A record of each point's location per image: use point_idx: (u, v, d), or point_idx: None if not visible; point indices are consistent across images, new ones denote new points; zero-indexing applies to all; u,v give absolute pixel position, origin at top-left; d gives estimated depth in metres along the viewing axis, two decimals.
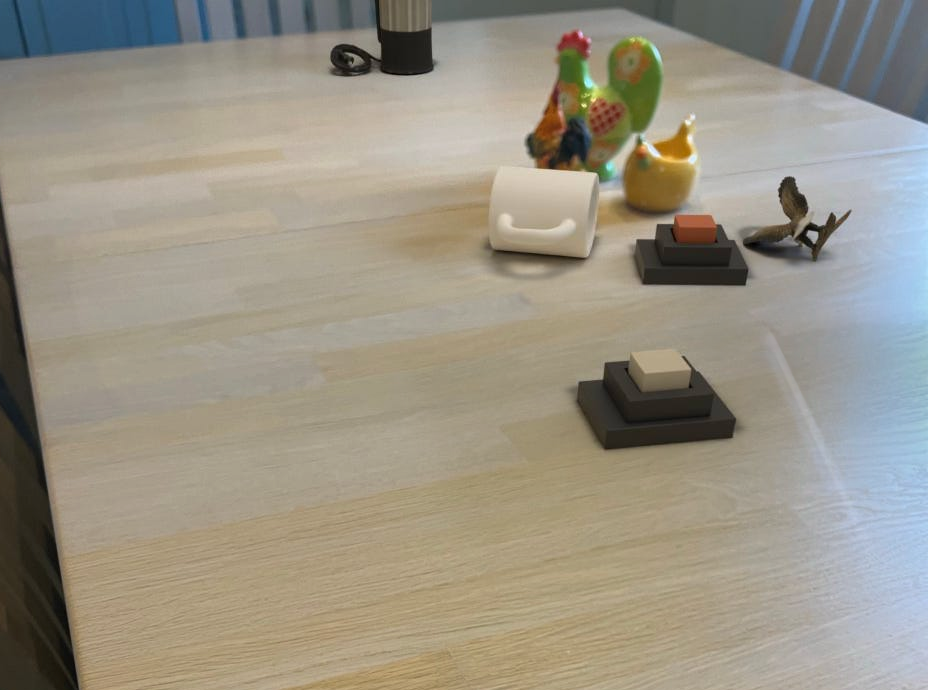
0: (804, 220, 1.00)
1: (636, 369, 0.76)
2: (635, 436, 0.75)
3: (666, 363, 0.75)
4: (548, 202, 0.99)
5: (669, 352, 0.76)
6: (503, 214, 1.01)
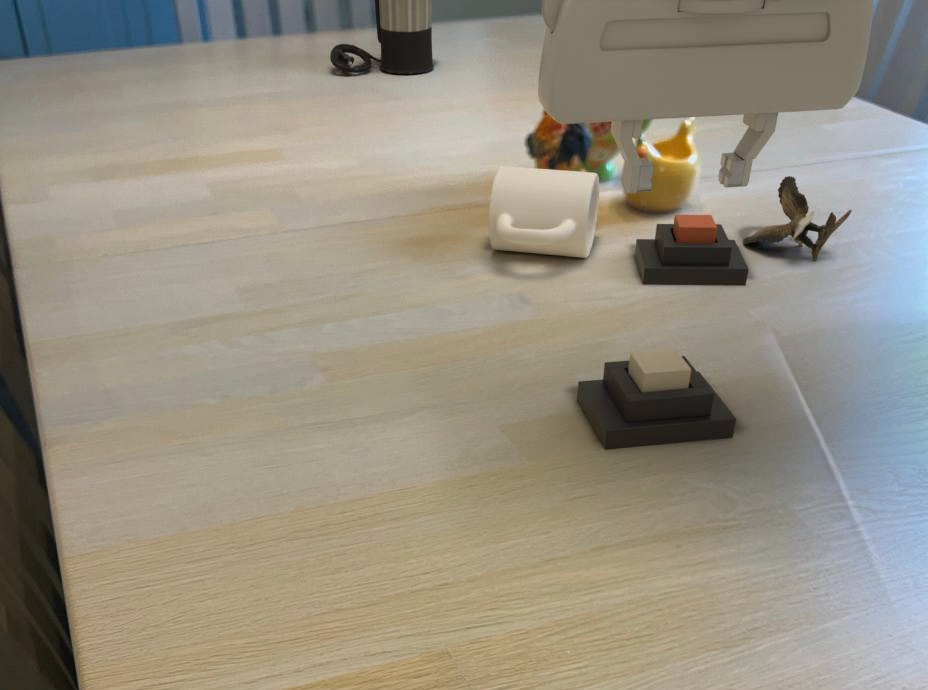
0: (804, 220, 1.00)
1: (636, 369, 0.76)
2: (635, 436, 0.75)
3: (666, 363, 0.75)
4: (548, 202, 0.99)
5: (669, 352, 0.76)
6: (503, 214, 1.01)
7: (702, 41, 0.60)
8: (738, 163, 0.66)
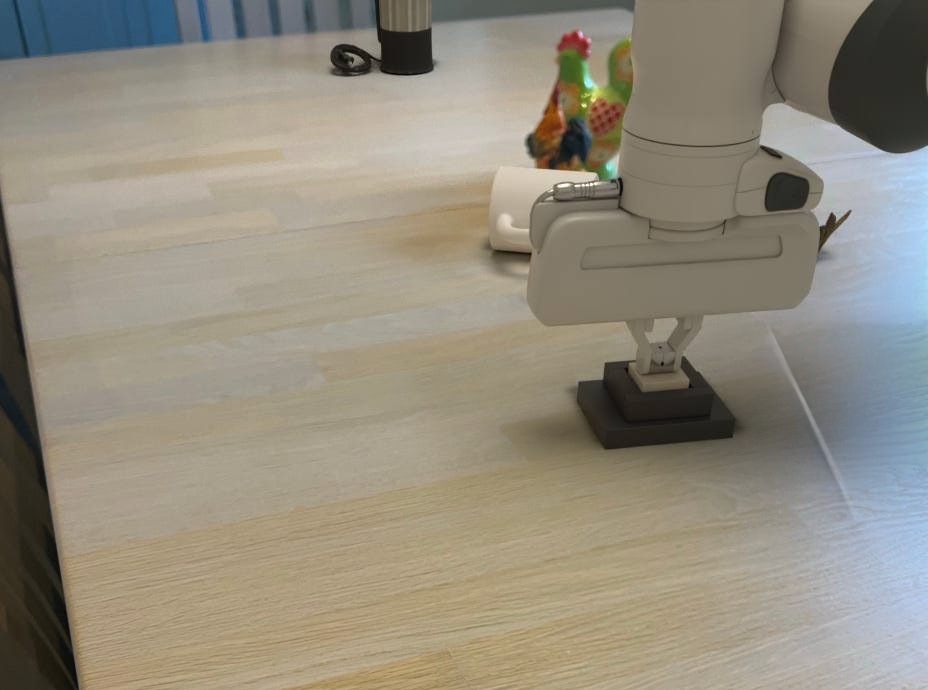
0: None
1: (635, 379, 0.76)
2: (635, 436, 0.75)
3: (664, 374, 0.76)
4: None
5: None
6: (503, 214, 1.01)
7: (669, 259, 0.69)
8: (670, 354, 0.74)
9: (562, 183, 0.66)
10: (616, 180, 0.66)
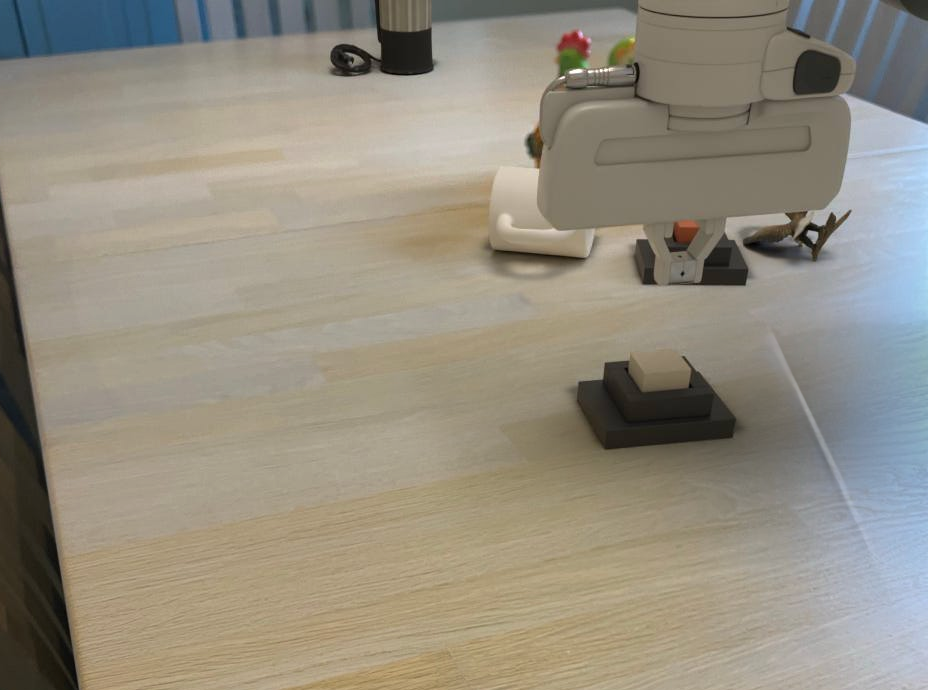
0: (804, 220, 1.00)
1: (636, 369, 0.76)
2: (635, 436, 0.75)
3: (666, 363, 0.75)
4: None
5: (669, 352, 0.76)
6: (503, 214, 1.01)
7: (690, 154, 0.64)
8: (690, 263, 0.70)
9: (574, 68, 0.61)
10: (632, 65, 0.62)
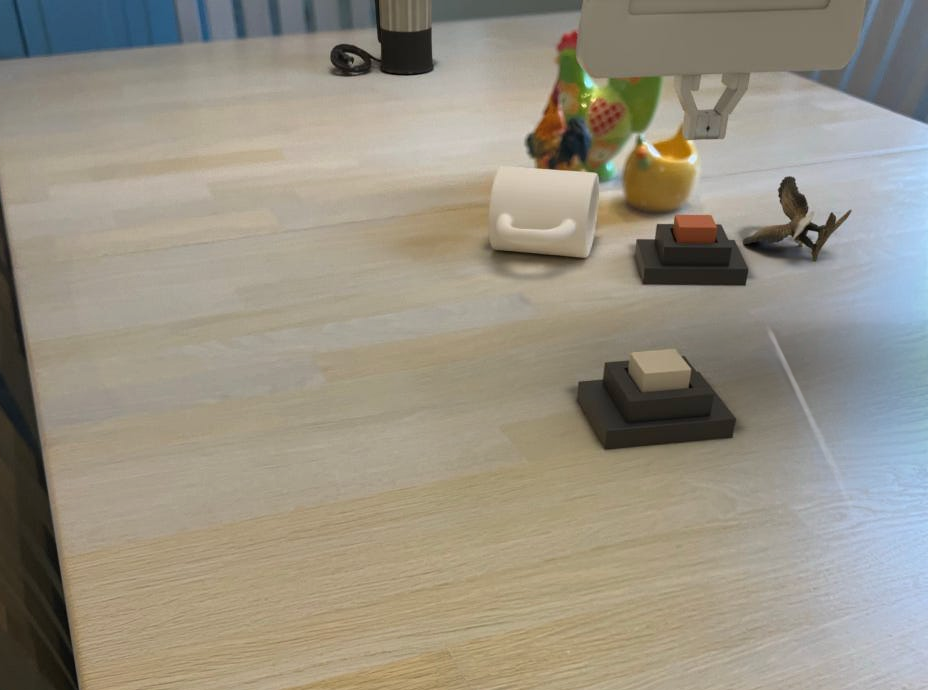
0: (804, 220, 1.00)
1: (636, 369, 0.76)
2: (635, 436, 0.75)
3: (666, 363, 0.75)
4: (548, 202, 0.99)
5: (669, 352, 0.76)
6: (503, 214, 1.01)
7: (717, 7, 0.71)
8: (715, 118, 0.76)
9: None
10: None
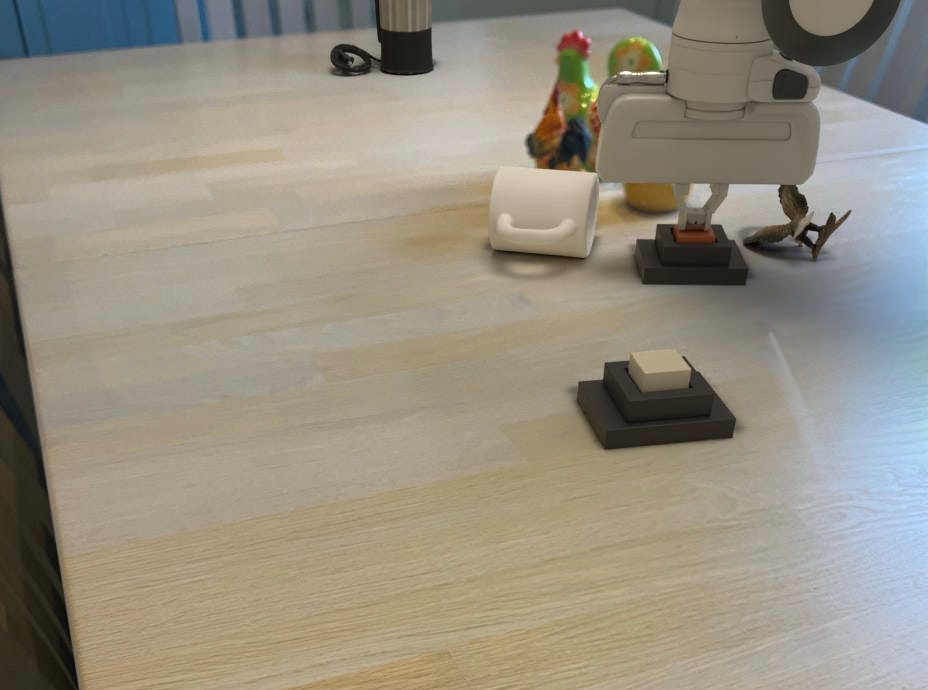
0: (804, 220, 1.00)
1: (636, 369, 0.76)
2: (635, 436, 0.75)
3: (666, 363, 0.75)
4: (548, 202, 0.99)
5: (669, 352, 0.76)
6: (503, 214, 1.01)
7: (701, 135, 0.92)
8: (702, 215, 0.98)
9: (623, 70, 0.91)
10: (664, 71, 0.90)
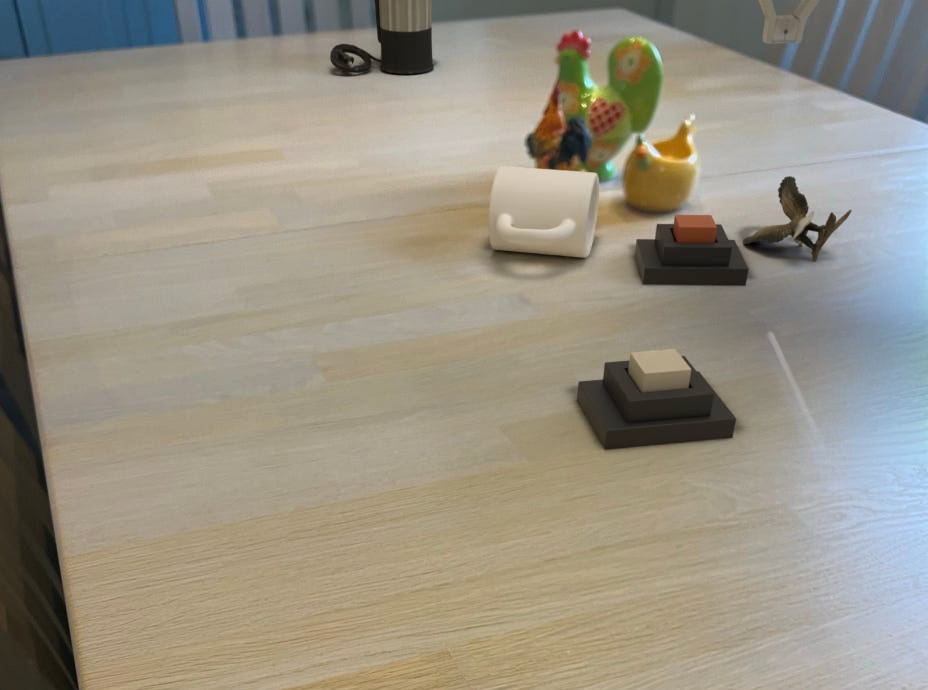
0: (804, 220, 1.00)
1: (636, 369, 0.76)
2: (635, 436, 0.75)
3: (666, 363, 0.75)
4: (548, 202, 0.99)
5: (669, 352, 0.76)
6: (503, 214, 1.01)
7: None
8: (793, 21, 0.82)
9: None
10: None
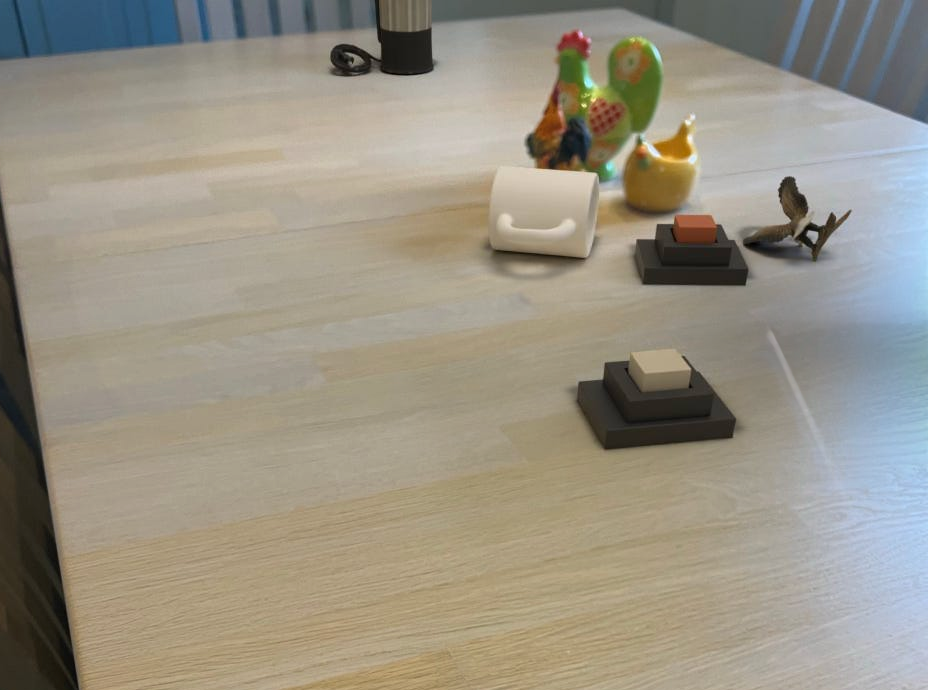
0: (804, 220, 1.00)
1: (636, 369, 0.76)
2: (635, 436, 0.75)
3: (666, 363, 0.75)
4: (548, 202, 0.99)
5: (669, 352, 0.76)
6: (503, 214, 1.01)
7: None
8: None
9: None
10: None
